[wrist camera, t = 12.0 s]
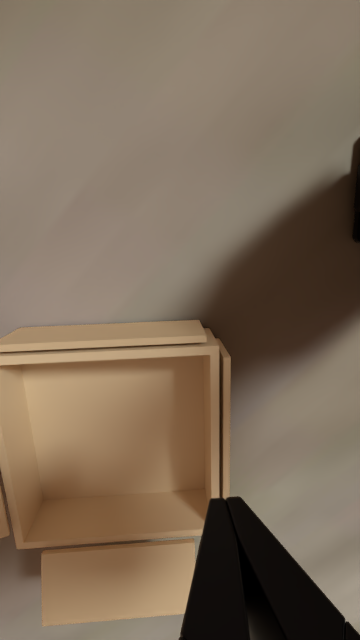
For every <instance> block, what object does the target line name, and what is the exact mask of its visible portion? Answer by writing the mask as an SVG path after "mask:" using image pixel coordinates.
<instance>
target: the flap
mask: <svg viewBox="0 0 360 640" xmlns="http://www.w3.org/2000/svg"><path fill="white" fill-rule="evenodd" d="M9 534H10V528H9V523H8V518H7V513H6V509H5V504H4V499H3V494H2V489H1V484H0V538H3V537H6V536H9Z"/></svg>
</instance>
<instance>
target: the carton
mask: <svg viewBox="0 0 360 640" xmlns="http://www.w3.org/2000/svg"><path fill="white" fill-rule="evenodd" d="M230 387H231V357H230V355H229V354H228V352H227V350H226V349H225V347H224V345H223V344H222V342H221V340H220V339H219V338H214V336H213V334H212V332H211V330H210V329H209V328H203V327H202V325H201V323H200V321H199V320H182V321H159V322H136V323H113V324H91V325H68V326H45V327H22V328H18V329H17V330H15V331H13V332H12V333H10V334H8V335H6V336H5V337H3V338H1V339H0V469H1V474H2V479H3V484H4V489H5V494H6V498H7V503H8V508H9V513H10V518H11V523H12V528H13V533H14V538H15V543H16V548H17V550H18V549H31V548H44V547H57V546H70V545H83V544H96V543H109V542H121V541H134V540H147V539H160V538H173V537H186V536H199V535H202V532H203V527H204V522H205V518H206V513H207V509H208V504H209V500H210V499H211V498H224V499H226V498H227V497H229V494H230Z"/></svg>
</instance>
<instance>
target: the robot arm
mask: <svg viewBox="0 0 360 640" xmlns="http://www.w3.org/2000/svg"><path fill="white" fill-rule="evenodd" d="M354 208H355V219H354V229H353V239H354V241H355V242H356V243H360V165H359V166H358V173H357V183H356V193H355V203H354ZM180 636H181V637H180V638H179V640H360V635H359V633H358V632H357V631H356V630H355V629H354V628H353V626H352V625H351V624H350V623H349V622H346V623H345V618H344V616H343V615H342V614H341V613H340V612H339V610H338V609H337V608H336V607H335V606H334V605H333V603H332V602H331V601H330V600H329V599H328V598H327V597H326V595H325V594H324V593H323V592H322V591H321V590H320V588H319V587H318V586H317V585H316V584H315V583H314V581H313V580H312V579H311V578H310V577H309V576H308V575H307V573H306V572H305V571H304V570H303V569H302V568H301V566H300V565H299V564H298V563H297V562H296V561H295V559H294V558H293V557H292V556H291V555H290V554H289V553H288V551H287V550H286V549H285V548H284V547H283V546H282V544H281V543H280V542H279V541H278V540H277V539H276V537H275V536H274V535H273V534H272V533H271V532H270V531H269V529H268V528H267V527H266V526H265V525H264V524H263V522H262V521H261V520H260V519H259V518H258V517H257V515H256V514H255V513H254V512H253V511H252V510H251V509H250V507H249V506H248V505H247V504H246V503H245V502H244V500H243V499H242V498H241V497H238V496H237V497H227V498H226V499H224V498H211V499H210V500H209V504H208V509H207V513H206V518H205V522H204V527H203V532H202V536H201V541H200V545H199V550H198V555H197V559H196V564H195V568H194V573H193V578H192V582H191V587H190V591H189V596H188V601H187V605H186V610H185V614H184V619H183V624H182V628H181V633H180Z"/></svg>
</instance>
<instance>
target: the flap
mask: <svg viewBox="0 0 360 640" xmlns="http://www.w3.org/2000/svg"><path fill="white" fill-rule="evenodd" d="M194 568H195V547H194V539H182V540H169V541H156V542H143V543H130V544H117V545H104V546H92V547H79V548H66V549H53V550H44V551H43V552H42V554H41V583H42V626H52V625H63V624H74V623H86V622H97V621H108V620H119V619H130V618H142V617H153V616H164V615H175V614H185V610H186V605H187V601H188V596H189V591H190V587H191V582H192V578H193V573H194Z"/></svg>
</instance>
